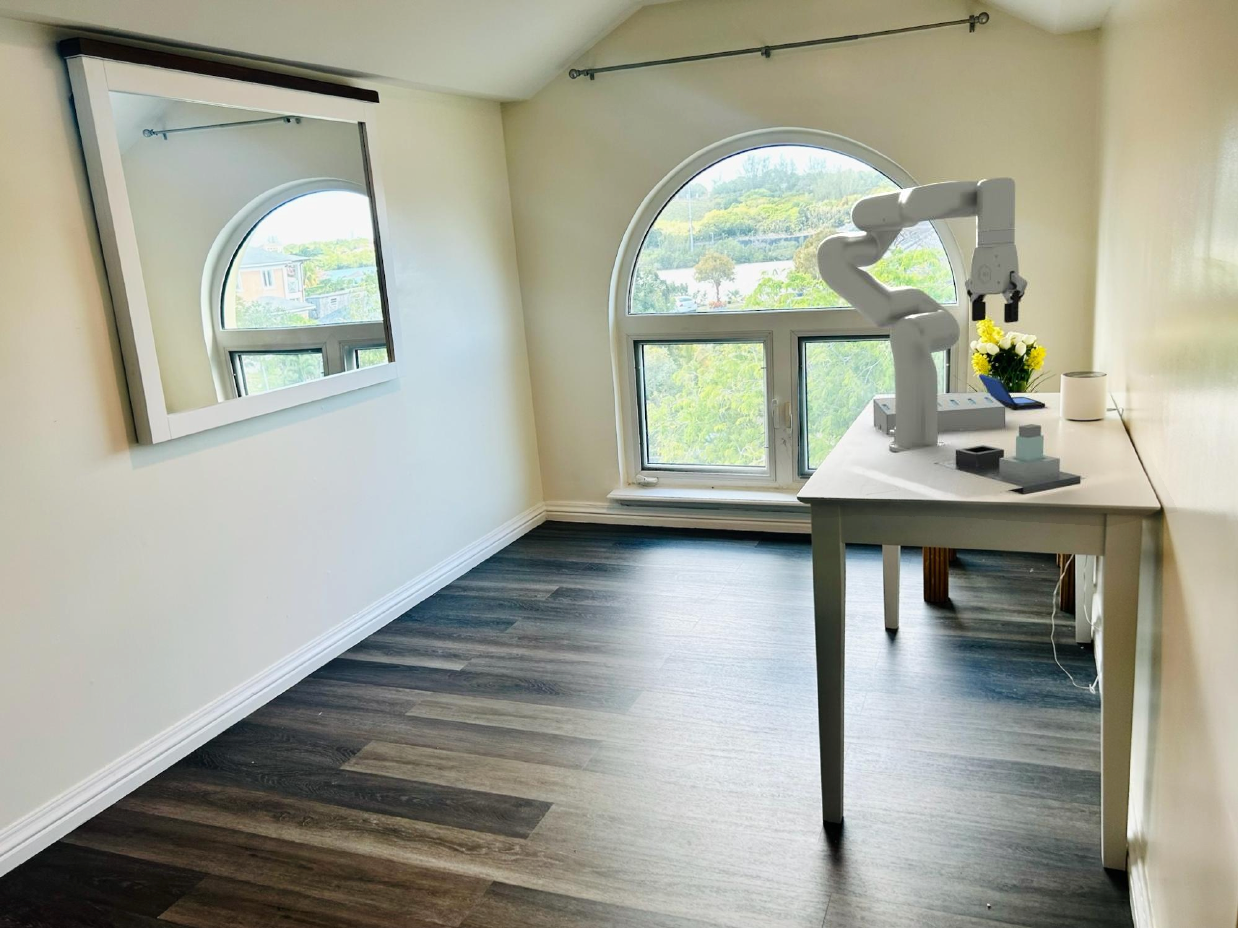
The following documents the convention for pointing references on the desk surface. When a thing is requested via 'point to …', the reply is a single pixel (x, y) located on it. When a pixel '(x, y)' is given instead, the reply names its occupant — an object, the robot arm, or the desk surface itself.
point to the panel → (1012, 469)
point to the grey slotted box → (950, 412)
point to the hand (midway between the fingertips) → (994, 321)
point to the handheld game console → (1008, 395)
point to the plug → (1029, 443)
